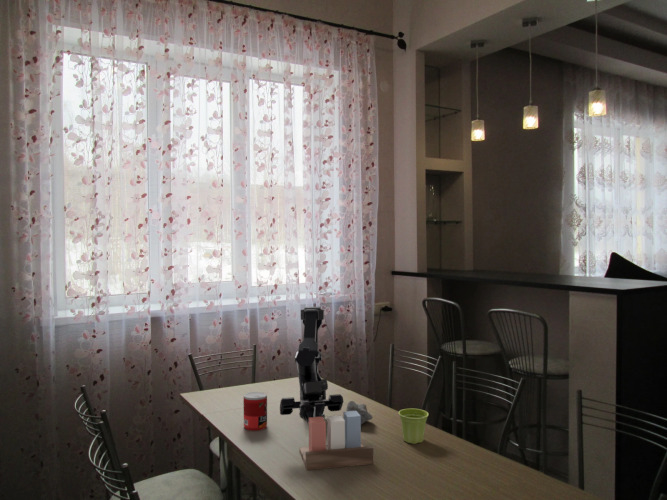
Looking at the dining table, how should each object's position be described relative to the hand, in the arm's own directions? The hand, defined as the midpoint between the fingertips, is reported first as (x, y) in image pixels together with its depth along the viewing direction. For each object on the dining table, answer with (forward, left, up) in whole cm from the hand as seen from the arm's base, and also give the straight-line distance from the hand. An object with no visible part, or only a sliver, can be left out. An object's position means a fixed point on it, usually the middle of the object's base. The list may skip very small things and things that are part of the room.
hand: (315, 431), depth 156 cm
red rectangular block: (+2, +2, -6) cm, 6 cm away
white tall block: (-3, +6, -6) cm, 9 cm away
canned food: (-6, -33, -8) cm, 34 cm away
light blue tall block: (-9, +7, -6) cm, 13 cm away
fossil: (-31, -8, -8) cm, 33 cm away
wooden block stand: (-3, +5, -8) cm, 10 cm away
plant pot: (-29, +15, -8) cm, 34 cm away
